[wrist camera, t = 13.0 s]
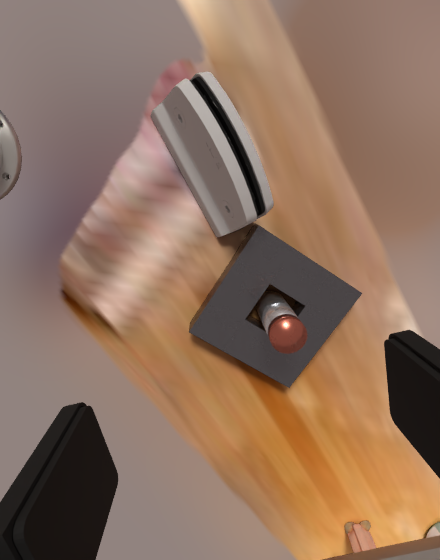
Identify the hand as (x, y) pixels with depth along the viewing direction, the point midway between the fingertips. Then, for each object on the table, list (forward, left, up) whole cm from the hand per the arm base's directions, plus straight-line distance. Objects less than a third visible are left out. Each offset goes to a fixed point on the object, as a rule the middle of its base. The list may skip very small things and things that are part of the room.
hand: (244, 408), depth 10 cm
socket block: (+11, -3, -32) cm, 34 cm away
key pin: (+11, -3, -32) cm, 34 cm away
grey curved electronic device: (-5, +8, -33) cm, 34 cm away
